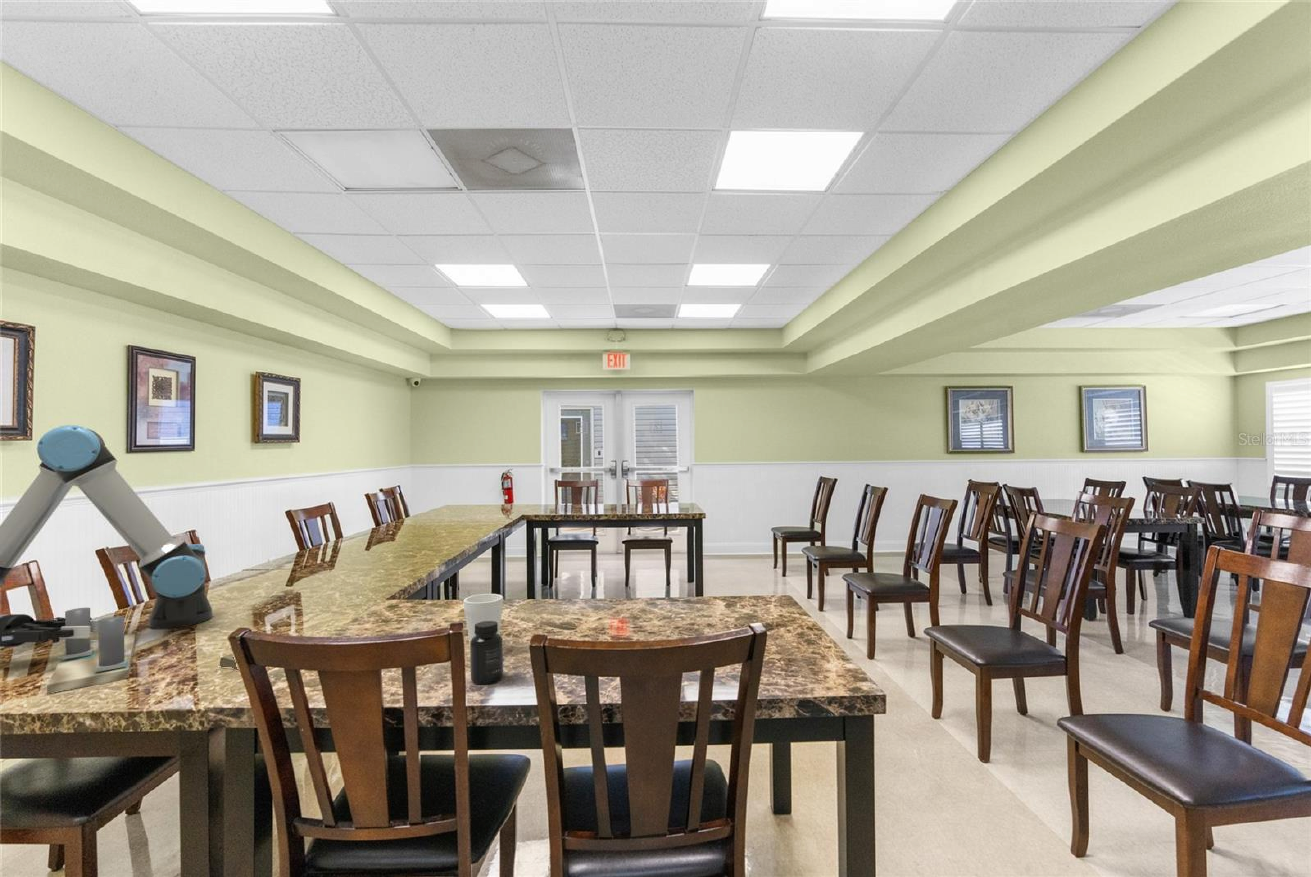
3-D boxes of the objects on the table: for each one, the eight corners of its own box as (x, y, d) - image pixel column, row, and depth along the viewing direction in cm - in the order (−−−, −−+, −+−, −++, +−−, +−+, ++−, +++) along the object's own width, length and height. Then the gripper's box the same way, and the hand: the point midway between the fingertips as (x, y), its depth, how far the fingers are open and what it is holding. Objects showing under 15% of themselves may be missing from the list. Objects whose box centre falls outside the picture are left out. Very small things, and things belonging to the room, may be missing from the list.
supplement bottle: (506, 672, 134) (505, 619, 134) (498, 685, 127) (497, 628, 128) (476, 673, 134) (475, 619, 134) (466, 685, 127) (465, 629, 128)
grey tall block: (127, 660, 141) (126, 614, 141) (125, 666, 137) (125, 618, 137) (97, 666, 138) (97, 618, 138) (95, 672, 134) (95, 623, 134)
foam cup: (498, 657, 144) (497, 603, 145) (459, 658, 144) (458, 603, 145) (507, 644, 154) (506, 593, 154) (471, 645, 154) (470, 594, 154)
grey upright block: (93, 649, 150) (92, 606, 150) (91, 654, 146) (90, 610, 146) (65, 654, 146) (64, 609, 147) (62, 659, 142) (62, 614, 143)
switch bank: (135, 640, 164) (135, 633, 164) (128, 678, 136) (128, 669, 136) (69, 651, 156) (69, 643, 156) (47, 694, 128) (47, 684, 128)
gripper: (42, 634, 155) (131, 633, 155) (-37, 658, 138) (63, 657, 137) (42, 605, 155) (131, 603, 155) (-37, 625, 138) (62, 624, 137)
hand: (98, 628), depth 146 cm, fingers closed on grey upright block, 4 cm apart
